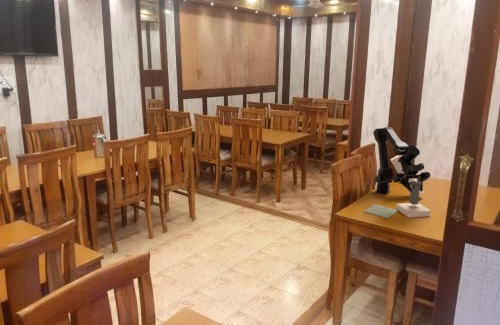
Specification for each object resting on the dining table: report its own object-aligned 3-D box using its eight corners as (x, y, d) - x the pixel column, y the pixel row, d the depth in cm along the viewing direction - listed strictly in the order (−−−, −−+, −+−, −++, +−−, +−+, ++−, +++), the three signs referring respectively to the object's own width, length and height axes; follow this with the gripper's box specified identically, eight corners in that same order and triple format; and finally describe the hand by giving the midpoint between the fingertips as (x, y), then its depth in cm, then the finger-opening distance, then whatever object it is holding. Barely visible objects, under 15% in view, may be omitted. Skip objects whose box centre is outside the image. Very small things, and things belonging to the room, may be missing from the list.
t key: (406, 202, 204) (409, 181, 201) (417, 202, 205) (419, 180, 202) (409, 204, 202) (412, 183, 199) (420, 204, 202) (423, 182, 199)
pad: (363, 212, 206) (364, 210, 206) (374, 205, 215) (374, 204, 215) (387, 218, 197) (387, 217, 197) (397, 211, 207) (398, 210, 206)
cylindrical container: (422, 190, 229) (401, 153, 230) (424, 192, 222) (402, 154, 223) (411, 195, 231) (390, 159, 232) (412, 198, 224) (390, 160, 225)
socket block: (396, 208, 210) (396, 203, 209) (416, 207, 211) (417, 202, 211) (408, 217, 198) (408, 212, 197) (429, 216, 200) (430, 210, 199)
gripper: (397, 158, 200) (406, 185, 192) (430, 157, 202) (441, 183, 195) (388, 169, 209) (397, 195, 202) (420, 167, 212) (430, 193, 204)
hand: (416, 191), depth 200 cm, fingers closed on t key, 5 cm apart
